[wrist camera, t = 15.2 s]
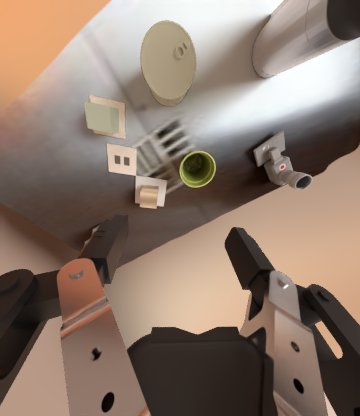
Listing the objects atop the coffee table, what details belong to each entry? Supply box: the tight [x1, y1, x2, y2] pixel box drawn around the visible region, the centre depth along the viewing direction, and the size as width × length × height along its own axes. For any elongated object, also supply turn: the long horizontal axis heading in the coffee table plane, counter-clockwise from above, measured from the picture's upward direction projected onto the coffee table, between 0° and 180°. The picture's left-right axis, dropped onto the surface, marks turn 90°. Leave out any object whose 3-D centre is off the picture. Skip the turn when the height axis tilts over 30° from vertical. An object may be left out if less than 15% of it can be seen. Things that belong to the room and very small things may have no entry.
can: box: [140, 21, 196, 107], centre depth 27 cm, size 9×9×12 cm
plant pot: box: [180, 151, 216, 187], centre depth 38 cm, size 9×9×9 cm
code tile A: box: [107, 143, 137, 176], centre depth 40 cm, size 8×8×1 cm
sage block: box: [84, 101, 119, 133], centre depth 32 cm, size 5×5×6 cm
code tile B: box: [89, 95, 126, 139], centre depth 35 cm, size 8×8×1 cm
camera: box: [253, 130, 312, 190], centre depth 39 cm, size 9×12×15 cm
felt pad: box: [135, 175, 167, 206], centre depth 46 cm, size 10×10×1 cm
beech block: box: [140, 185, 159, 209], centre depth 43 cm, size 5×5×6 cm
